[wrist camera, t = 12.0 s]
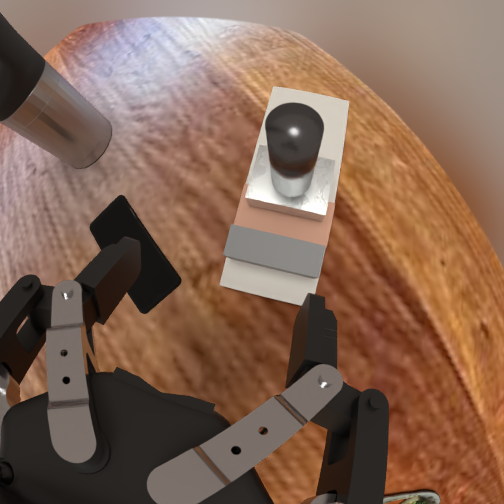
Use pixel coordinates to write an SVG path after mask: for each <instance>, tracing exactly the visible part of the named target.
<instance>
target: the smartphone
mask: <svg viewBox="0 0 504 504" xmlns="http://www.w3.org/2000/svg"><path fill="white" fill-rule="evenodd" d="M90 230H91V232H92V234H93V236H94V238H95V240H96V241H97V243H98V245H99V247H100V249H101V250H103V249H104V248H105V247H107V246H109V245H111V244H117V243H118V242H119V241H120V240H121V239H122V238H123V237H129V238H132V239H135V240H138V241H139V242H140V248H141V270H140V274H139V276H138V278H137V279H136V281H135V282H134V283H133V285H132V286H131V287H130V289H129V290H128V291H127V293H128V294H129V296H130V298H131V299H132V301H133V302H134V304H135V305H136V306H137V308H138V309H139V311H140V312H141V313H143V314H146V313H148V312H149V311H150V310H151V309H152V308H154V307H155V306H156V305H157V304H158V303H159V302H161V301H162V300H163V299H164V298H165V297H166V296H167V295H169V294H170V293H171V292H172V291H173V290H174V289H176V288H177V287H178V286H179V285H180V284H181V278H180V276H179V275H178V273H177V272H176V271H175V269H174V268H173V267H172V265H171V264H170V262H169V261H168V260H167V258H166V257H165V255H164V254H163V253H162V251H161V250H160V248H159V247H158V245H157V244H156V243H155V241H154V240H153V238H152V237H151V235H150V234H149V232H148V231H147V230H146V228H145V227H144V225H143V224H142V222H141V221H140V219H139V218H138V216H137V215H136V213H135V212H134V210H133V209H132V207H131V206H130V204H129V203H128V201H127V199H126V198H125V196H123V195H119V196H118V197H117V198H116V199H115V200H114V201H113V202H112V203H111V204H110V205H109V206H108V207H107V208H106V209H105V210H104V211H103V212H102V213H101V214H100V215H99V216H98V217H97V218H96V219H95V220H94V221H93V222H92V223H91V224H90Z"/></svg>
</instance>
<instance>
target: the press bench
mask: <svg viewBox="0 0 504 504" xmlns="http://www.w3.org/2000/svg"><path fill="white" fill-rule="evenodd" d="M291 102H296V103H302V104H305V105H308V106H310V107H311V108H313V109H314V110H316V111H317V112H318V113H319V115H320V116H321V118H322V120H323V123H324V133H323V137H322V141H321V146H320V150H319V154H318V157H323V158H327V159H331V160H335V166H334V172H333V178H332V184H331V189H330V195H329V200H328V205H327V211H326V215H325V217H324V219H323V221H322V222H319V221H315V220H311V219H306V218H302V217H298V216H293V215H289V214H285V213H280V212H276V211H271V210H267V209H262V208H257V207H253V206H249V205H248V203H247V201H246V198H245V196H246V192H247V189H248V185H249V181H250V177H251V174H252V170H253V166H254V163H255V159H256V155H257V152H258V148H259V145H264V146H267V138H266V130H265V121H266V118H267V116H268V114H269V113H270V112H271V111H272V110H273V109H274V108H275V107H277V106H279V105H281V104H284V103H291ZM348 108H349V101H346V100H342V99H338V98H334V97H329V96H325V95H320V94H315V93H311V92H305V91H300V90H294V89H288V88H282V87H276V86H273V90H272V93H271V96H270V100H269V103H268V107H267V110H266V114H265V117H264V121H263V124H262V128H261V131H260V135H259V138H258V142H257V145H256V149H255V152H254V156H253V159H252V163H251V167H250V170H249V174H248V178H247V181H246V183H245V184H244V188H243V192H242V195H241V199H240V203H239V206H238V210H237V214H236V218H235V222H234V225H233V224H231V227H230V230H229V234H228V238H227V242H226V246H225V250H224V254H223V255H224V256H226V261H225V265H224V269H223V273H222V277H221V281H220V285H221V286H224V287H228V288H232V289H236V290H240V291H244V292H248V293H251V294H255V295H259V296H263V297H268V298H272V299H276V300H280V301H284V302H288V303H292V304H297V305H301V306H302V304H303V302H304V300H305V298H306V296H307V294H308V293H313V294H315V292H316V287H317V283H318V279H319V275H320V270H321V266H322V261H323V257H324V252H325V248H327V243H328V239H329V234H330V229H331V224H332V218H333V213H334V208H335V203H334V202H335V196H336V191H337V185H338V179H339V173H340V167H341V160H342V153H343V147H344V139H345V132H346V124H347V116H348Z"/></svg>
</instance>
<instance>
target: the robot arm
mask: <svg viewBox="0 0 504 504" xmlns="http://www.w3.org/2000/svg"><path fill="white" fill-rule="evenodd" d="M0 123H2V124H3V125H5V126H7V127H8V128H10V129H11V130H13V131H15V132H17V133H18V134H20V135H21V136H23V137H25V138H26V139H28V140H30V141H31V142H33V143H35V144H36V145H38V146H39V147H41V148H43V149H44V150H46V151H48V152H49V153H51V154H53V155H54V156H56V157H58V158H59V159H61V160H62V161H64V162H66V163H68V164H69V165H71V166H73V167H75V168H84V167H87V166H89V165H91V164H92V163H94V162H95V161H96V160H97V159H98V158H99V157H100V156H101V155H102V153H103V152H104V150H105V149H106V147H107V145H108V143H109V141H110V137H111V131H112V130H111V125H110V122H109V121H108V120H107V119H106V118H105V117H104V116H103V115H102V114H101V113H100V112H99V111H98V110H97V109H96V108H95V107H94V106H93V105H92V104H91V103H90V102H89V101H88V100H86V99H85V98H84V97H83V96H82V95H81V94H80V93H79V92H78V91H77V90H76V89H75V88H74V87H73V86H72V85H71V84H70V83H69V82H68V81H67V80H66V79H65V78H64V77H63V76H61V75H60V74H59V73H58V72H57V71H56V70H55V69H54V68H53V67H52V66H51V65H50V64H49V63H48V62H47V61H46V60H45V59H44V58H43V57H42V56H41V55H40V54H38V53H37V52H36V51H35V50H34V49H33V48H32V47H31V46H30V45H29V44H28V43H27V42H26V41H25V40H24V39H23V38H22V37H21V36H20V35H19V34H18V33H17V31H16V30H14V28H13V27H12V26H11V25H10V24H9V22H8V21H7V20H6V19H5V18H4V16H3V15H2V14H1V13H0ZM140 270H141V248H140V242H139V241H138V240H135V239H132V238H129V237H123V238H122V239H121V240H120V241H119V242H118V243H117V244H111V245H109V246H107V247H105V248H104V249H103V250H102V251H101V252H100V253H99V254H98V255H97V256H96V257H95V258H94V259H93V260H92V262H90V263H89V264H88V265H87V266H86V267H85V268H84V269H83V270H82V271H81V273H80V274H79V275H78V276H77V277H76V278H75V279H74V280H66V281H62V282H60V283H59V284H57V285H56V286H55V287H53V286H46V285H41V282H40V279H39V278H38V277H37V276H36V275H26V276H24V277H22V278H20V279H19V280H18V281H17V283H16V284H15V285H14V286H13V287H12V288H11V289H10V291H9V292H8V293H7V294H6V295H5V297H4V298H3V299H2V300H1V301H0V428H1V446H0V504H274V503H273V501H272V499H271V497H270V496H269V494H268V492H267V490H266V488H265V487H264V485H263V483H262V481H261V479H260V477H259V475H258V474H257V472H256V470H255V468H254V466H255V465H256V464H258V463H259V462H260V461H262V460H263V459H264V458H266V457H267V456H268V455H269V454H271V453H272V452H273V451H275V450H276V449H277V448H278V447H279V446H281V445H282V444H283V443H284V442H286V441H287V440H288V439H289V438H290V437H291V436H293V435H294V434H295V433H296V432H297V431H298V430H299V429H301V428H302V427H303V426H304V425H305V424H306V423H307V422H308V421H309V420H310V421H312V422H314V423H316V424H318V425H320V426H322V427H324V428H326V429H328V431H327V437H326V444H325V450H324V456H323V462H322V467H321V472H320V478H319V483H318V487H317V492H316V496H314V497H310V498H307V499H306V500H304V501H303V502H302V503H301V504H383V499H384V491H385V481H386V470H387V455H388V430H389V404H388V400H387V398H386V397H385V395H384V394H383V393H382V392H380V391H379V390H376V389H367V390H365V391H363V392H360V391H358V390H357V389H355V388H353V387H351V386H349V385H347V384H346V383H345V382H344V381H343V379H342V376H341V374H340V373H339V371H338V370H337V332H336V331H337V320H336V318H335V316H334V313H333V311H331V310H327V309H325V297H323V296H320V295H316V294H313V293H308V294H307V296H306V298H305V300H304V302H303V304H302V306H301V308H300V311H299V313H298V315H297V317H296V320H295V324H294V329H293V337H292V344H291V352H290V359H289V366H288V373H287V379H286V386H285V388H288V389H287V390H285V391H284V392H283V393H281V394H280V395H275V396H273V397H272V398H270V399H269V400H268V401H266V402H265V403H264V404H262V405H261V406H259V407H258V408H257V409H255V410H254V411H252V412H251V413H250V414H248V415H247V416H245V417H244V418H242V419H241V420H239V421H238V422H236V423H235V424H233V425H231V424H230V423H229V421H227V420H226V419H225V418H224V417H223V416H222V415H220V414H219V413H217V412H216V411H214V407H215V404H212V403H209V402H206V401H203V400H200V399H197V398H194V397H191V396H184V395H176V394H168V393H162V392H160V391H158V390H157V389H155V388H154V387H152V386H151V385H150V384H148V383H147V382H145V381H144V380H143V379H141V378H140V377H138V376H136V375H134V374H131V373H129V372H127V371H125V370H123V369H120V368H118V367H116V369H115V371H114V373H113V372H100V369H99V366H98V362H97V356H96V348H95V340H94V332H93V325H94V323H95V322H98V323H100V324H103V325H104V324H105V322H106V321H107V319H108V318H109V316H110V315H111V314H112V312H113V311H114V309H115V308H116V307H117V305H118V304H119V302H120V301H121V300H122V298H123V297H124V295H125V294H126V293H127V291H128V290H129V289H130V287H131V286H132V285H133V283H134V282H135V281H136V279H137V278H138V276H139V274H140ZM26 316H27V317H28V319H27V321H26V322H25V324H24V325H23V326H22V328H21V329H20V331H19V332H18V333H17V329H18V327H19V326H20V325H21V323H22V322H23V320H24V319H25V318H26ZM16 333H17V335H16ZM45 342H46V363H47V382H48V392H45V393H43V394H40V395H38V396H35V397H33V398H30V399H28V400H25V401H22V402H20V401H21V398H20V387H19V385H20V383H21V381H22V380H23V378H24V376H25V374H26V373H27V371H28V369H29V368H30V366H31V364H32V363H33V361H34V359H35V358H36V356H37V354H38V353H39V351H40V350H41V348H42V347H43V345H44V343H45Z"/></svg>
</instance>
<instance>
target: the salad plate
mask: <svg viewBox="0 0 504 504" xmlns="http://www.w3.org/2000/svg"><path fill="white" fill-rule="evenodd" d="M400 499H406V500H405V501H403V502H401V503H400V504H439V503H440V497H439V495H438V494H437V493H436V492H434V491H429V490H420V491H417V492H412V493H402V494H397V495H393V496H386V497H384V499H383V504H385V503H388V502H391V501H394V500H400Z"/></svg>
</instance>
